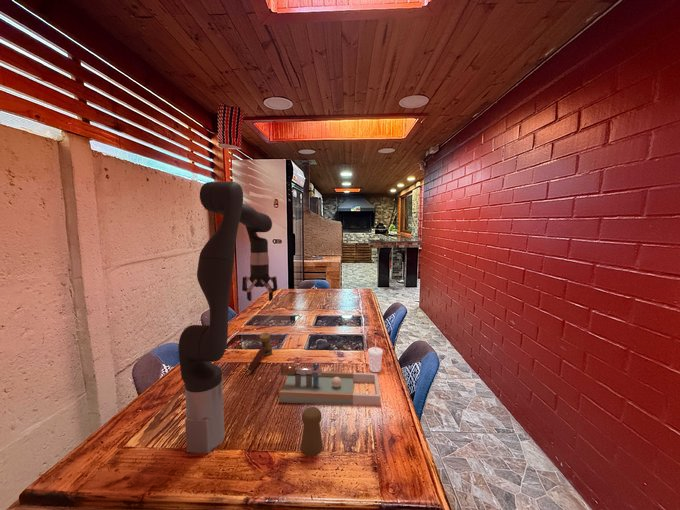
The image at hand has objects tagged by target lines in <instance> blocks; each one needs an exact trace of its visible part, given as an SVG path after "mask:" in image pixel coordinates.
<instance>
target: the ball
mask: <svg viewBox="0 0 680 510" xmlns="http://www.w3.org/2000/svg"><path fill="white" fill-rule="evenodd" d="M332 385H333V386H334V387H339V386H340V385H341V379H340V378H339V377H334V378H333V379H332Z"/></svg>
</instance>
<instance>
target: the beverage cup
mask: <svg viewBox="0 0 680 510" xmlns="http://www.w3.org/2000/svg"><path fill="white" fill-rule="evenodd" d="M367 351H368V352H367V353H368V359H369V360H368V366H369V368H368V369H369V370H370V371H371V372H372V373H373V372H374V373H379V372H380V371H381V370H382V359H383V353H384V350H383V349H382V348H381V347H378V346H377V338H375V339H374V347H373V346H372V347H370V348H368V349H367Z"/></svg>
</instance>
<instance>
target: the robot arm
mask: <svg viewBox="0 0 680 510" xmlns="http://www.w3.org/2000/svg"><path fill="white" fill-rule="evenodd" d="M243 191H244V190H243V188H242V186H241V184H239V183H238V182H236V181H209V182H205V183H204V184H203V185H202V186H201V187H200V191H199V200H200V204H201V205H202V207H203V208H204V209H205V210H206V211H208V212H210V213H214V214H219V215H222V218H221V222H220V225H219V226H218V227H217V230H216V231H215V232H214V233H213V235H212V236H211V237H210V238H209V239H208V240H207V242H206V243H205V244H204V246H203V248H202V249H201V251H200V252H199V256H198V263H197V271H196V278H197V283H198V284H199V287H200V289H201V291H202V293H203V295H204V297H205V299H206V301H207V304H208V308H209V325H208V324H207V325H206V324H205V325H204V324H203V325H202V324H191V325H188V326H187V327H185V328H184V329H183V330H182V332H181V334H180V336H179V339H178V346H177V347H178V348H177V349H178V359H179V366H180V367H179V369H180V377H181V379H182V382H183V383H184V392H185V393H184V394H185V395H184V396H185V411H186V412H185V413H186V416H185V417H186V418H185V419H184V427H185V428H184V429H185V443H186V453H189V452H190V454H192V453H194V454H207V453H208V454H210V453H211V452H212V450H214V449H215V448H217V447H218V446H220V445H221V443H222V442H223V440H224V439H225V434H226V433H225V417H224V416H225V415H224V413H225V412H224V410H225V409H224V394H223V393H224V392H223V390H224V389H223V388H224V387H223V371H222V368H221V367H220V366H218V365H216V364H215V362H218V361H220V360H221V359H222V358H223V357H224V355H225V352H226V349H227V345H228V339H229V338H228V335H229V308H230V307H229V306H230V296H231V286H232V280H233V273H234V265H235V264H234V262H235V254H236V253H235V252H236V242H237V236H238V230H239V225H240V223H241V224H242V225H243V226H245V230H246V232H247V235H248V239H249V244H250V249H249V251H250V256H249V269H250V272H249V273H250V275H249V276H246V275H245V276H243V277H242V281H241V282H242V285H241V286H242V289H241V290H242V292H246V299H247V300H248V302H252V298H253V297H252V290H253V288H254V287H255V288H265V289H266V290H267V291H268V301H269V302H272V300H273V299H274V292H276V291H277V290H278V278H277V276H276V275H275V276H270V267H269V266H270V265H269V264H270V260H269V259H270V258H269V242H268V239H266V238H264V237H260V236H259V235H258V233H269V232H270V231H271V229H272V228H273V221H272V219H271V217H270V216H269V215H268V214H265V213H263V212H260V211H257V210H256V209H255V208H254V207H252V206H250V204H249V205H248V204H246V203H244V192H243ZM249 281H250V283H251V284H250V286H248V282H249ZM269 281H271V283H272V286H271V284H270V282H269ZM213 362H214V363H213Z"/></svg>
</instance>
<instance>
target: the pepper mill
mask: <svg viewBox="0 0 680 510" xmlns="http://www.w3.org/2000/svg"><path fill="white" fill-rule="evenodd" d="M301 420H302V423H303V430H302V435H301V436H302V437H301V443H300V445H301V446H300V450H301V453H302V454H304V455H305V456H308V457H314V456H317V455H319V454H320V453H321V452H322V450H323V446H324V445H323V439H322V430H321V421H322V412H321V410H320V409H319V408H318V407H315V406H309V407H306V408H305V409H304V410H303V412H302V415H301Z"/></svg>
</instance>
